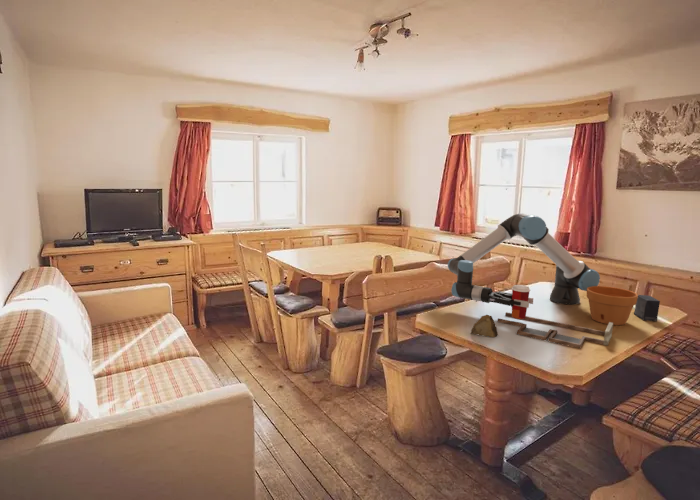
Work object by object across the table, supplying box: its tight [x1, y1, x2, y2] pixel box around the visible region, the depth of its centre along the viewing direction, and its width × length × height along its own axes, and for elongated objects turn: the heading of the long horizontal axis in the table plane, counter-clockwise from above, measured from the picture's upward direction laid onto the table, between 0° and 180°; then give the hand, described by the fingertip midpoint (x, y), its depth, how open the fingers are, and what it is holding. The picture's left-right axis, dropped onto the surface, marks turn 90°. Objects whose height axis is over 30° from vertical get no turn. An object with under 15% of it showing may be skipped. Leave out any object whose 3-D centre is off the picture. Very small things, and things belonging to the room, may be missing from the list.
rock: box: [470, 314, 499, 338], centre depth 185 cm, size 11×9×10 cm
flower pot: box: [586, 285, 639, 326], centre depth 204 cm, size 21×21×15 cm
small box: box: [633, 294, 661, 322], centre depth 209 cm, size 11×6×10 cm, turn 168°
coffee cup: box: [511, 284, 531, 320], centre depth 200 cm, size 8×8×15 cm
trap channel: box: [497, 311, 614, 349], centre depth 188 cm, size 46×24×6 cm, turn 53°
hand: (530, 302), depth 197 cm, fingers closed on coffee cup, 7 cm apart
